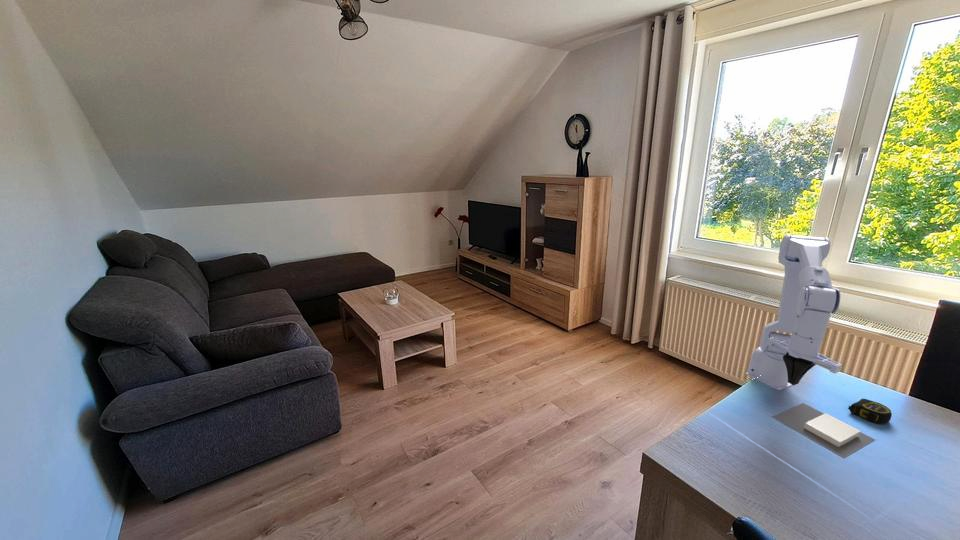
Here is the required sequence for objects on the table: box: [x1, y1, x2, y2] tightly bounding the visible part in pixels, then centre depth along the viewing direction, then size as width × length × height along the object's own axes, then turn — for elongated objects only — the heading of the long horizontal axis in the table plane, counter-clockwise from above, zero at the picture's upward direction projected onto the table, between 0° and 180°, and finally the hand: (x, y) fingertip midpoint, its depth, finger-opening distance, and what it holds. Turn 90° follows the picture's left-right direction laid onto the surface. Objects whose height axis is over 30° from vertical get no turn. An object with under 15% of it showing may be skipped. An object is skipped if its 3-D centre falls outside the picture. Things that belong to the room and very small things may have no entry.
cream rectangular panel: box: [804, 412, 862, 447], centre depth 91 cm, size 2×9×7 cm
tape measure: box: [847, 398, 893, 425], centre depth 97 cm, size 7×7×4 cm
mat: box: [771, 402, 876, 459], centre depth 93 cm, size 15×14×1 cm
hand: (792, 382), depth 94 cm, fingers closed
